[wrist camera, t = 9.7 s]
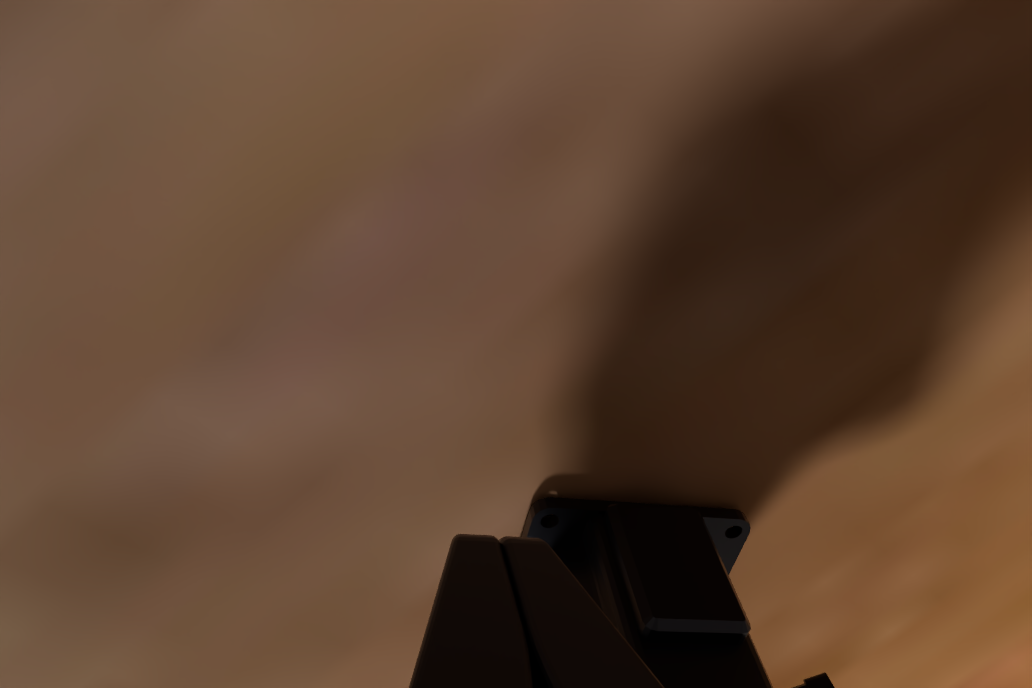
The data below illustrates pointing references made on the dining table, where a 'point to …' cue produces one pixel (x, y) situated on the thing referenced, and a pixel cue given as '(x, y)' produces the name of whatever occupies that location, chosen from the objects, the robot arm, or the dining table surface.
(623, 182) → the dining table surface
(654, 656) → the robot arm
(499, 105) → the dining table surface
